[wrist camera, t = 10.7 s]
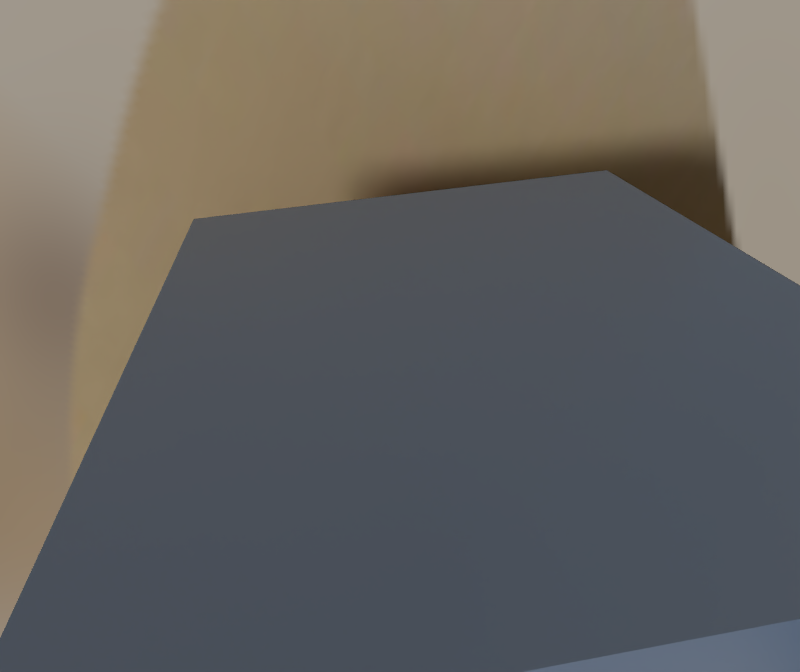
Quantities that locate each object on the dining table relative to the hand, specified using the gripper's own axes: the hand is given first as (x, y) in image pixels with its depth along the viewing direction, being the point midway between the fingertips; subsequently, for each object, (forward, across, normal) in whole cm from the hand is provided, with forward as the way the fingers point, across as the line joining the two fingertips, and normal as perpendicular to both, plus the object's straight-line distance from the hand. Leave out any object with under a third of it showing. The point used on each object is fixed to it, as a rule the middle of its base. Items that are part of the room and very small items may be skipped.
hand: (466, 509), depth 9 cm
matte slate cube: (+4, 0, 0) cm, 4 cm away
